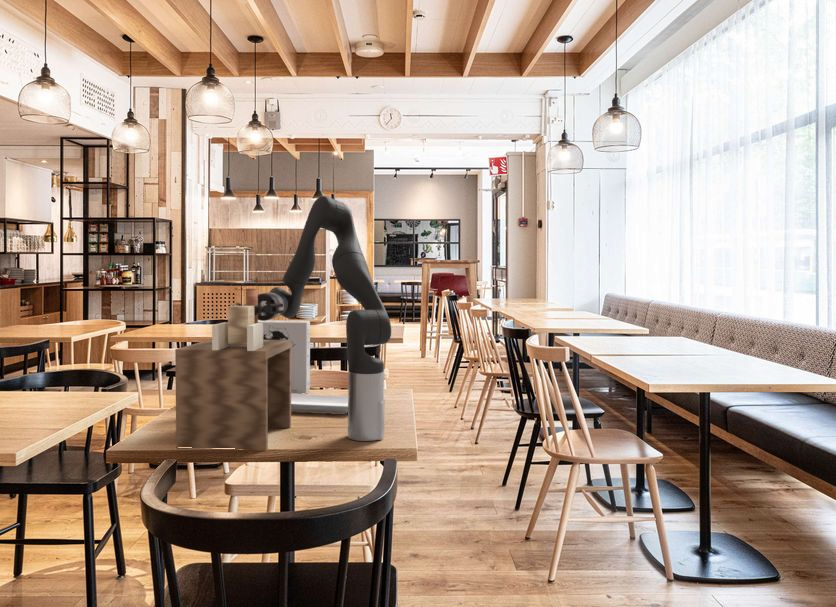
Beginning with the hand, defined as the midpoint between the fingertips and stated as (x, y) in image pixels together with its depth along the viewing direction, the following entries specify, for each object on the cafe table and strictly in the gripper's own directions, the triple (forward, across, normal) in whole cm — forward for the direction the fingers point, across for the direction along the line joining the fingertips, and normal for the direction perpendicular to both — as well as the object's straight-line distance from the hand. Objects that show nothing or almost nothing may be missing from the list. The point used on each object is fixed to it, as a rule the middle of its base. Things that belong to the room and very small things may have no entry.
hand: (248, 310), depth 167 cm
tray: (-35, +8, +34) cm, 49 cm away
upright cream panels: (+8, 0, +9) cm, 12 cm away
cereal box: (-61, -9, +34) cm, 70 cm away
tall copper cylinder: (+2, 0, +8) cm, 8 cm away
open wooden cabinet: (0, -3, +33) cm, 33 cm away
